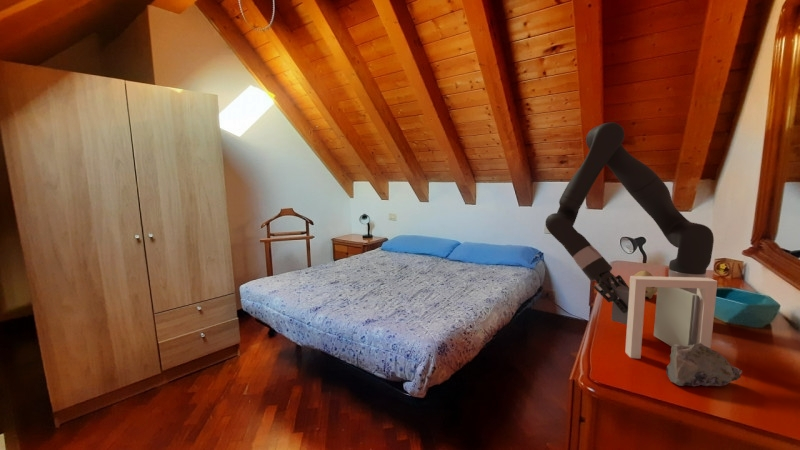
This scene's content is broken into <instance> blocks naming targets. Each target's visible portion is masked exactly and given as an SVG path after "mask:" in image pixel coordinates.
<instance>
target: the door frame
mask: <svg viewBox="0 0 800 450" xmlns="http://www.w3.org/2000/svg"><path fill="white" fill-rule="evenodd" d="M629 281H630V288H629V303H628V318H627V325H626V334H625V335H626V336H625V349H624V350H625V351H624V352H625V354H626V355H627V356H628V357H629V358H630V359H641V357H642V344H643V331H644V330H643V329H644V328H643V327H644V316H645V303H646V302H645V301H646V297H645V291H646V287H668V288H697V296H699V303H698V313H697V324H696V335H695V344H697V343H701V344H703V345H704V346H707V347H708V348H710V349H711V350H712V340H713V339H712V338H713V329H714V328H713V327H714V317H715V308H716V299H717V288H718V280H715V279H713V278H711V277H705V278H700V277H668V276H654V275H653V276H634V275H630V277H629Z"/></svg>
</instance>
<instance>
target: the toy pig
mask: <svg viewBox="0 0 800 450" xmlns="http://www.w3.org/2000/svg"><path fill="white" fill-rule="evenodd" d="M633 276H654V275H653V274H652V273H651V272H649V271H648V270H640V271H638V272H635V274H634V275H633ZM627 285H628V287H629V288H630V280H629V281H628V284H627ZM656 294H657V287H646V291H645V298H646V297H647V298H648V299H653V296H654V295H656Z"/></svg>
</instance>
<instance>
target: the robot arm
mask: <svg viewBox="0 0 800 450" xmlns="http://www.w3.org/2000/svg"><path fill="white" fill-rule="evenodd" d="M624 140H625V129H624V128H623V126H622V125H621V124H619V123H617V122H605V123H601V124H600V125H597V126H594V127H593V128H592V129H590V130H589V131H588V132H587V134H586V138H585V142H586V146H587V148H588V149H589V151H588V153H587V155H586V157H585V159H584V161H583V162H582V164H581V166H580V167H579V168H578V169H577V171H575V173H574V175H573V176H572V177H571V179H570V180H569V182H568V183H567V185H566V186H565V189H564V191H563V193H562V194H561V196H560V198H559V201H558V204H559V207H558V209H557V212H555V213H551V214H549V215H548V216H547V218H546V219H545V228H546V229H547V231H548V232H549V233H550V234H551V235H552V237H554V239H556V240H557V241H558V242H559V243H560V244H561V246H562V247H564V248H565V250H566V252H567V253H568V254H569V256H571V258H572V259H573V260H574V262H575V264H576V265H577V267H579V268H580V270H581V271H582V272H583V274H584V275H585V276H586V277H587V278H588V279H589V281H591V282H594V281H595V282H596V284H595V285H594V286H593V289H595V291H596V292H597V293H598V294H600V295H601V297H603V299H605V300H606V302H608V303H610V302H611V303H612V304H613V303H615V304H616V305H617V306H618V308H619V309H620V310H621V311H622V312H623V313H626V312H628V306H627V305H626V304H625V302H624V301H623V300H622V299H621V298H620V296H619V295H618V294H617V290H616V289H617V287H619V286H621V287H623V286H625V287H629V285H628V284H627V283H626V281H625V280H624V279H623V277H622V276H621V275H620V274H619V275H617V276H616V275H614V274H613V273H611V271H612V269H613V267H612V266H611V264H610V263H609V262H608V261H607V259H606V258H605V257H604V256H603V255H602V254H601V253H600V251H599V250H597V249H596V248H595V247H594V246H593V245H592V244H591V243H590V242H589V241H588V239H586V237H585V236H584V235H582V234H581V233H580V232H578V231H577V230H576V228H575V227H574V225H575V222H576V220H577V218H578V214H579V212H580V209H581V207H582V206H583V204H584V202H585V200H586V198H587V196H588V194H589V193H590V191H591V189H592V187H593V185H594V183H595V182H596V180H597V178H598V177H599V175H600V173H601V172H602V170H603V169H604V167H605V166H607V167H608V168H609V170H610V171H611V172H612V174H613V175H614V176H615V177H616V179H617V180H618V181H619V183H620V184H621V185H622V186H623V187H624V188H625V190H626V191H627V193H628V194H629V195H630V196H631V197H632V198H633V199H634V200H635V202H637V203H638V205H639V206H640V207H641V208H642V209H643V210H644V211H645V213H647V215H648V216H650V218H651V219H652V220H653V221H654V222H655V223H656V225H657V226H658V228H659V229H660V231H661V232H662V234H663V235H664V237H665V238H666V240H667V241H668V243H670V244H671V245H672V246H673V247H675V248H677V254H676V257H675V258H674V259H671V260H670V261H669V264H668V276H667V277H700V278H707V275H706V274H707V269H708V267H709V266H710V264H711V260H712V256H713V255H712V254H713V250H714V243H715V242H714V241H715V239H714V237H715V236H714V234H713V231H712V229H711V228H710V227H708V226H706V225H704V224H702V223H696V222H691V221H690V220H688V219H687V218H686V217H685V216H684V215H683V214H682V213H681V212H680V211H679V210H678V209H677V207H676V206H675V205H674V201H673V200H672V196H671V192H670V190H669V188H668V187H667V185H666V183H665V182H664V181H663V179H661V178H660V176H659V175H658V173H656V172H655V171H654V170H653V169H652V168H651V167H649V166H648V165H647V164H645V163H643V162H642V161H640V160H639V159H637V158H636V157H634V156H633V155H632V154H630V153H629V152H628V150H626V148H625V147H624V146H623V145H622V144H623V142H624ZM680 289H683V290H686V291H688V292H691V293H693V294H696V295H697V288H680ZM613 293H614V294H613Z"/></svg>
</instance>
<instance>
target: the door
mask: <svg viewBox="0 0 800 450" xmlns="http://www.w3.org/2000/svg"><path fill="white" fill-rule="evenodd" d="M655 302H656V303H655V315H654V328H653V337H655V338H657V339H658V340H660V341H662V342H664V343H665V344H667V345H668V346H670V347H671V348H672V346H673V345H674V344H678V345H684V346H688V345H694V344H695V335H696V324H697V313H698V303H699V296H697V295H696V294H693V293H691V292H688V291H686V290H683V289H680V288H668V287H657V292H656V301H655Z"/></svg>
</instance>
